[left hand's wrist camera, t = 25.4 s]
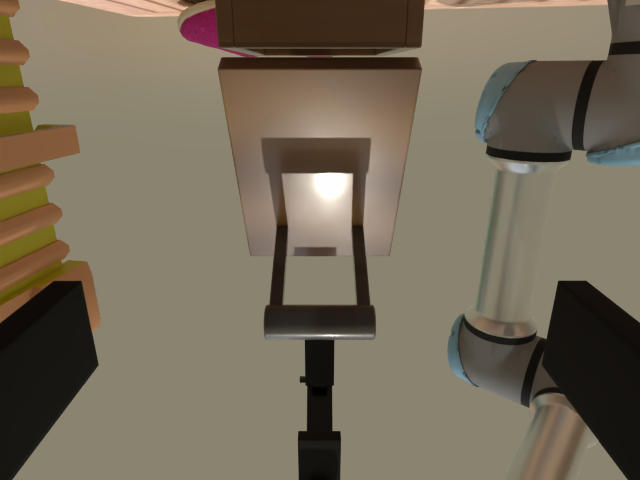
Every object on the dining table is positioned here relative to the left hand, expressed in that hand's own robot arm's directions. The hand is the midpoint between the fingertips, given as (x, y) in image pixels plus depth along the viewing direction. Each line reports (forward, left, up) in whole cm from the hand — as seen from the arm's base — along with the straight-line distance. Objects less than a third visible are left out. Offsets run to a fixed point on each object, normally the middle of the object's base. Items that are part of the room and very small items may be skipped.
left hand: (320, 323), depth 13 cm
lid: (+13, -6, -2) cm, 15 cm away
